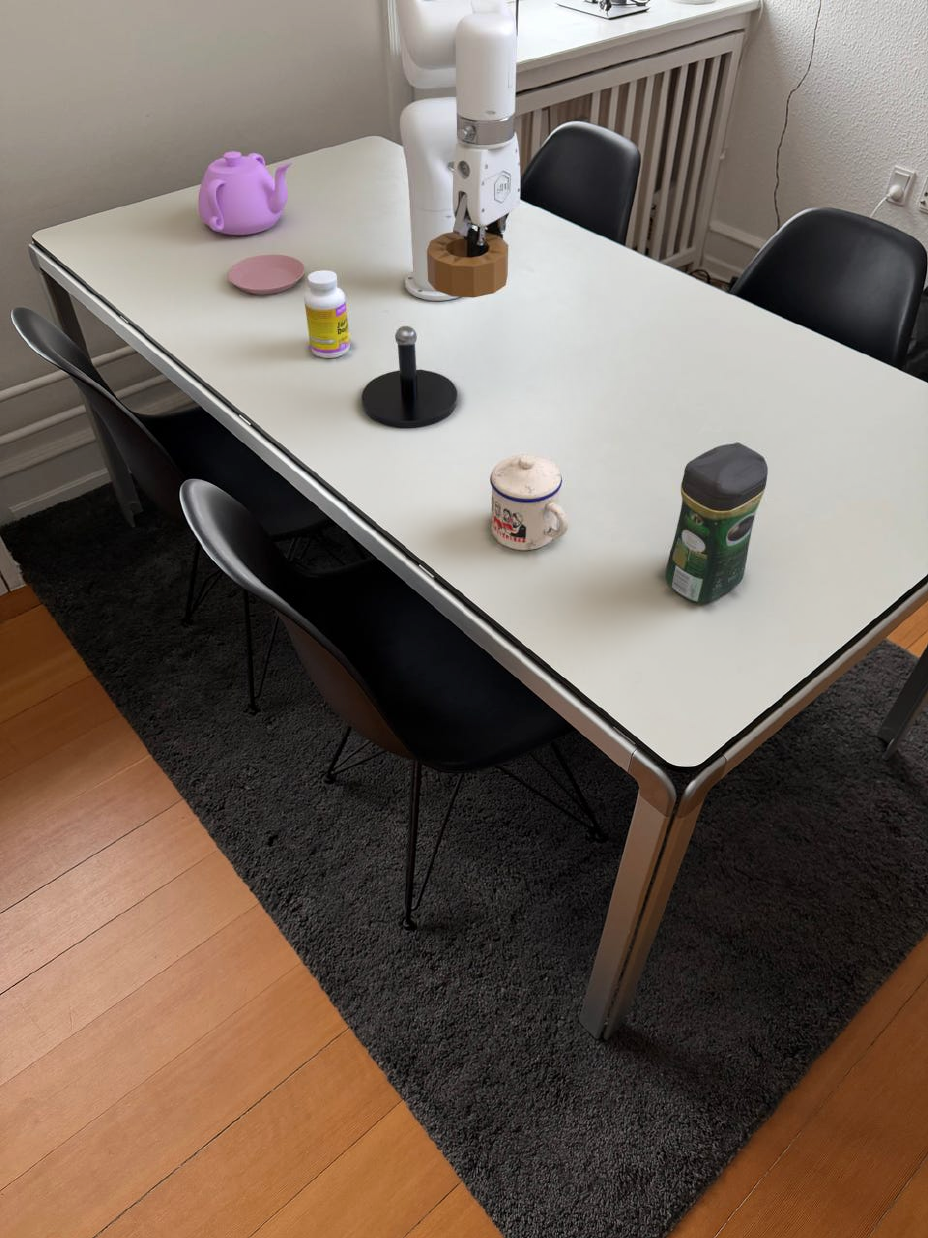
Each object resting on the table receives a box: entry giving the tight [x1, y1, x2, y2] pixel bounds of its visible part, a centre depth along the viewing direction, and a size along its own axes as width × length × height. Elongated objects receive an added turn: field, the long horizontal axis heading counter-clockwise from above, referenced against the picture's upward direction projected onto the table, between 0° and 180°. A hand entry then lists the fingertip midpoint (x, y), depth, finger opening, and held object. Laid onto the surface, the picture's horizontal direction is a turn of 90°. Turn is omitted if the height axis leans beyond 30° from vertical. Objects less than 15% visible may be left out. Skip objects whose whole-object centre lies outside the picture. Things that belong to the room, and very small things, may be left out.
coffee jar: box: [664, 441, 769, 604], centre depth 112 cm, size 10×8×19 cm
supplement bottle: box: [303, 269, 351, 359], centre depth 155 cm, size 7×7×13 cm
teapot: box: [197, 150, 292, 236], centre depth 191 cm, size 22×22×14 cm
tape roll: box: [427, 230, 509, 298], centre depth 132 cm, size 11×11×4 cm
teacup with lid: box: [489, 454, 569, 551], centre depth 121 cm, size 12×9×12 cm
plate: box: [227, 254, 306, 296], centre depth 177 cm, size 14×14×2 cm
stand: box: [360, 325, 459, 429], centre depth 144 cm, size 15×15×13 cm
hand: (484, 262), depth 135 cm, fingers closed on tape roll, 3 cm apart
